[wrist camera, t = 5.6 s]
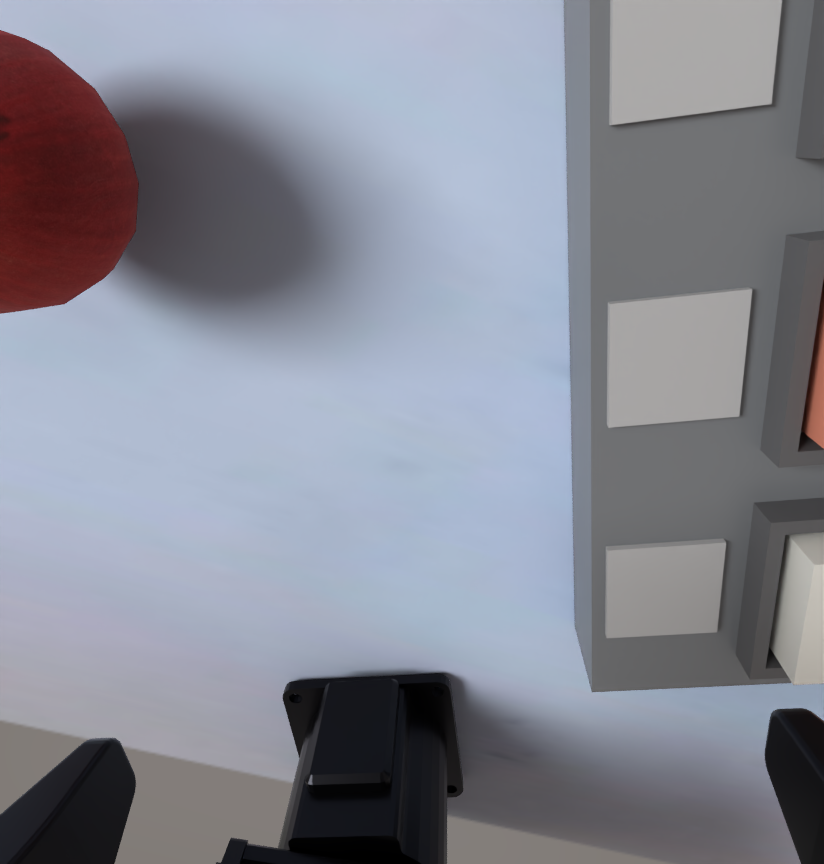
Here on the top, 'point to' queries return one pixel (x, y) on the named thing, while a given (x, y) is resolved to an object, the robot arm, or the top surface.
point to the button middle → (816, 385)
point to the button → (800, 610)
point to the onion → (57, 181)
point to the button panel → (691, 328)
